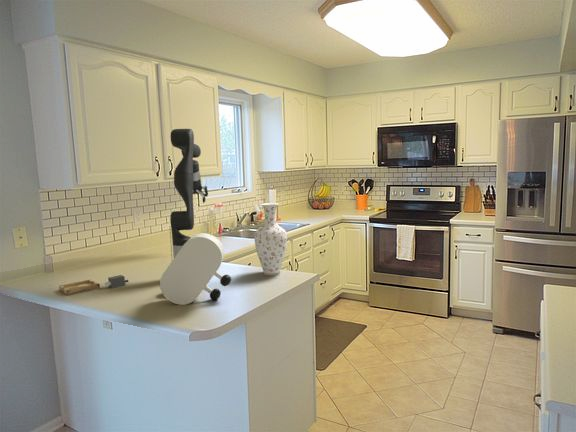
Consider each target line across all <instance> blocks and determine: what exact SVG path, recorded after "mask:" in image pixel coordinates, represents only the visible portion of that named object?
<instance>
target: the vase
mask: <svg viewBox="0 0 576 432" xmlns="http://www.w3.org/2000/svg"><path fill="white" fill-rule="evenodd" d="M278 205H279V203H277V202H268V203H267V202H266V203H260V206H262V208H263V210H264V222H263V224H262V225H261V226H260V227H259V228H258V229H256V231H255V233H254V247H255V251H256V254H257V257H258V259H259V263H260V265H261V268H262V271H263V275H265V276H276V275H280V274H281V268H282V265H283V261H284V257H285V255H286V251H287V243H288V234H287V231H286V229H285V228H284V227H281V226H280V225H279V224H278V222H277V219H276V210H277V207H278Z"/></svg>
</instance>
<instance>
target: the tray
mask: <svg viewBox="0 0 576 432" xmlns="http://www.w3.org/2000/svg"><path fill="white" fill-rule="evenodd" d="M58 288H59V289H58V290H59V291H60V292H61V293H63V294H64V295H66V296H72V295H76V294H81V293H85V292H89V291H94V290H99V289H101V287H100V283H99V282H97V281H95V280H93V279H87V280H81V281H80V280H79V281H76V282H72V283H67V284H66V283H65V284H61V285H59V286H58Z"/></svg>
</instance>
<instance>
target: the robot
mask: <svg viewBox="0 0 576 432" xmlns="http://www.w3.org/2000/svg"><path fill="white" fill-rule="evenodd" d="M190 237H191V238H190V239H189V240H188V241H187V242H186V243H185V244H184V245H183V247H182V248H181V250H180V251H179V252H178V254H177V255H176V256H175V258H172V260H171V262H170V263H169V264H168V265H167V268H166V269H165V271H164V272H162V275H161V277H160V281H159V289H160V291H161V294H162V295H163V296H164V297H165V299H167V300H168V301H169V302H171V303H173V304H176V305H183V306H184V305H185V306H186V305H188V304H191V303H192V302H194V301H195V300H196V299H197V298H198V297H199V296H200V295H201V293H202V292H203V290H204V291H205V292H207V293H208V294H209V297H210V299H211V300H212V301H217V300H219V299H220V297H221V290H220V289H219V288H214V289H212V288H211V287H209V286H208V284H209V282H210V280H211V279H212V278H213V277H214V276H215V277H216V278H218V280H220V282H219V283H220V285H221V286H222V287H227V286H229V285H230V283H231V282H232V277H231V276H230V275H229V274H221V273H220V272H218V271H219V268H220V267H221V265H222V262H223V260H224V257H225V248H224V246H223V244H222V242H221V241H220V240H219V238H217V237H216V236H214V235H212V234H210V233H206V232H201V233H197V234H194V235H193V236H190Z"/></svg>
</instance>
